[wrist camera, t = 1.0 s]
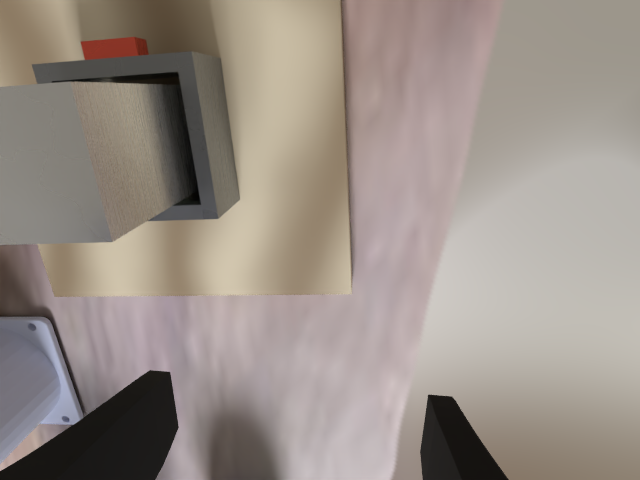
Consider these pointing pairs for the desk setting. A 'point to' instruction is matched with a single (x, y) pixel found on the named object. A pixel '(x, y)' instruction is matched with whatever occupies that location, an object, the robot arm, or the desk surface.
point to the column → (90, 159)
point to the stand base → (247, 138)
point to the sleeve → (199, 102)
